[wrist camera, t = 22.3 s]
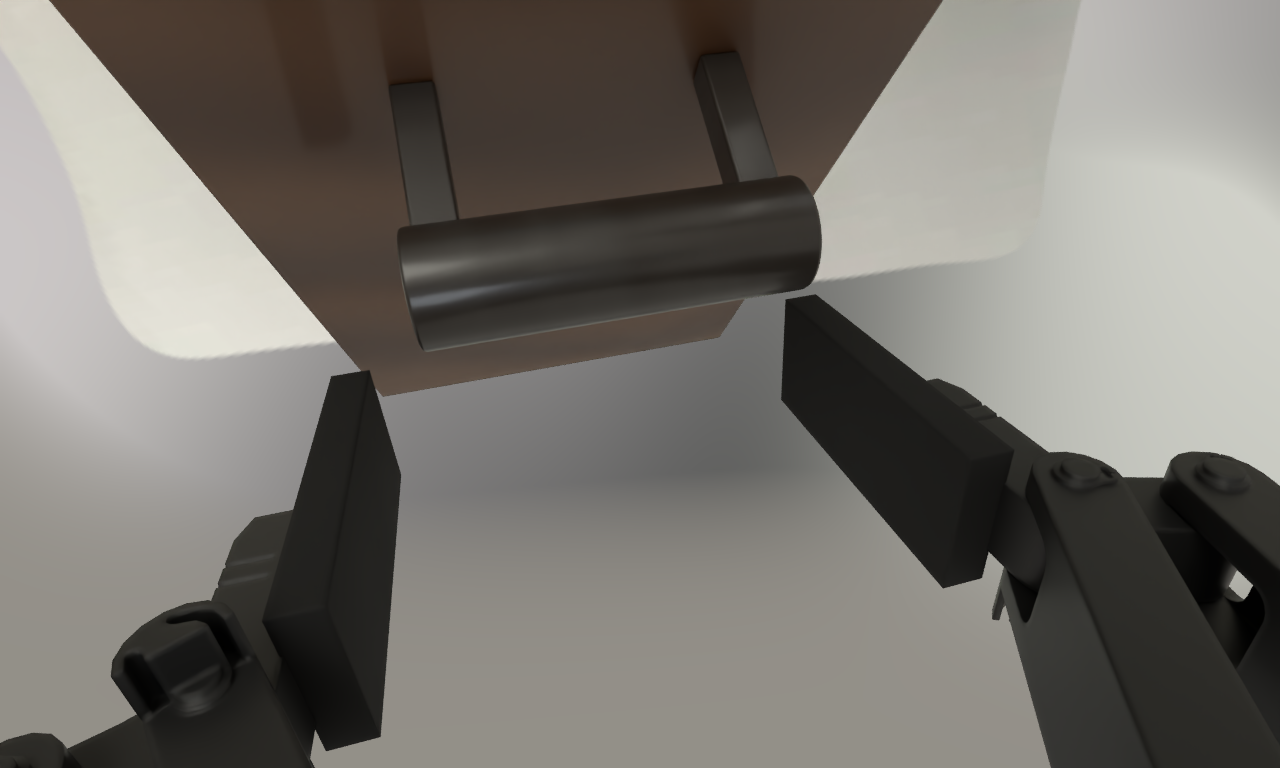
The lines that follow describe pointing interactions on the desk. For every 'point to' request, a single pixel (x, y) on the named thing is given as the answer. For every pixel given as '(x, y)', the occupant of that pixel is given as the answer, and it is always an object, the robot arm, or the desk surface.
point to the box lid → (512, 158)
